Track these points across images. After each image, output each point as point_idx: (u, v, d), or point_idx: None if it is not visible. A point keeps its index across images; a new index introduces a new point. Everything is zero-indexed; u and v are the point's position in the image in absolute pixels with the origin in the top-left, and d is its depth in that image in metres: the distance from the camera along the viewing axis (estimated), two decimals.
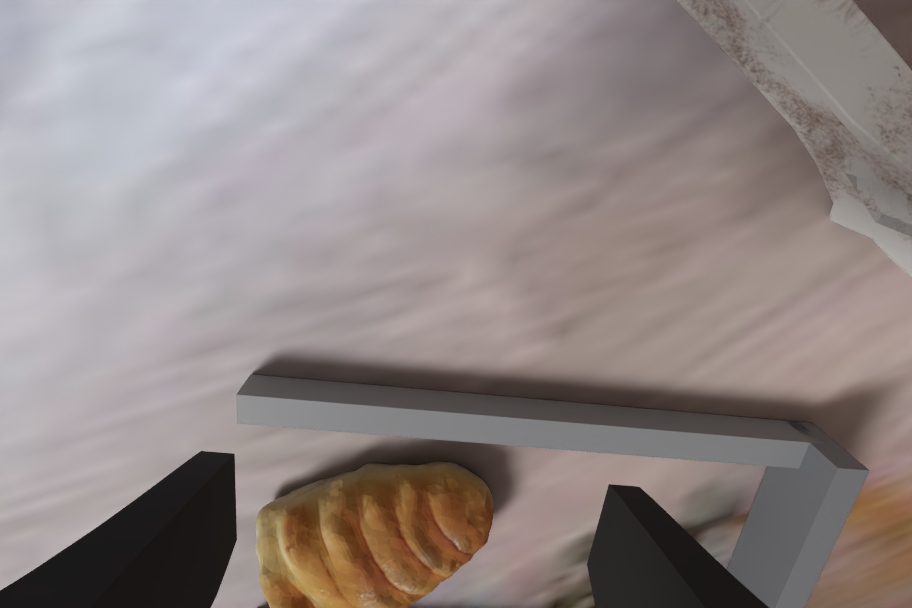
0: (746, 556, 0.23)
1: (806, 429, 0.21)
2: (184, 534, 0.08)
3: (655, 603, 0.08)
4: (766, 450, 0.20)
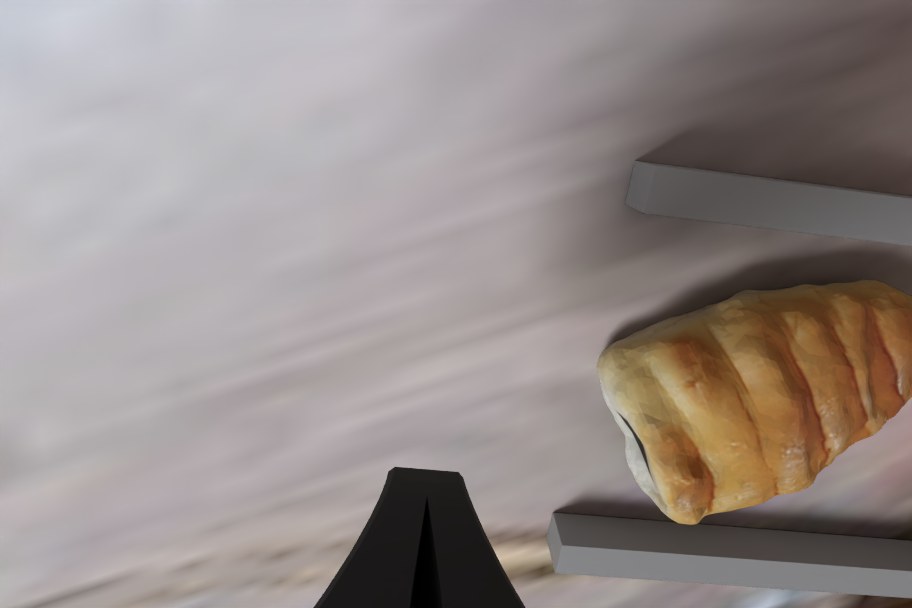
0: None
1: None
2: (418, 550, 0.08)
3: (428, 588, 0.08)
4: None
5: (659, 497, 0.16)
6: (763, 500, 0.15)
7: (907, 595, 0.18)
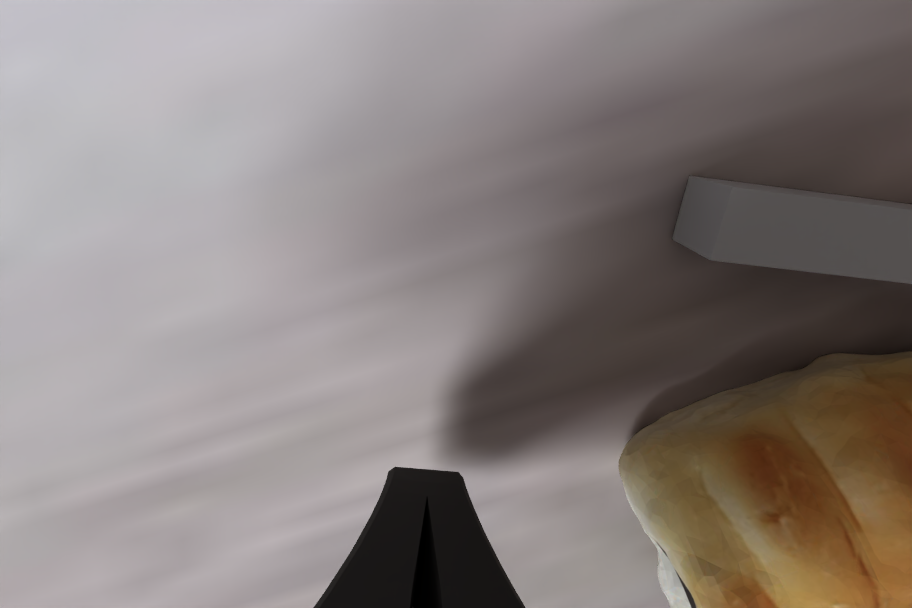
0: None
1: None
2: (418, 550, 0.08)
3: (428, 588, 0.08)
4: None
5: None
6: None
7: None
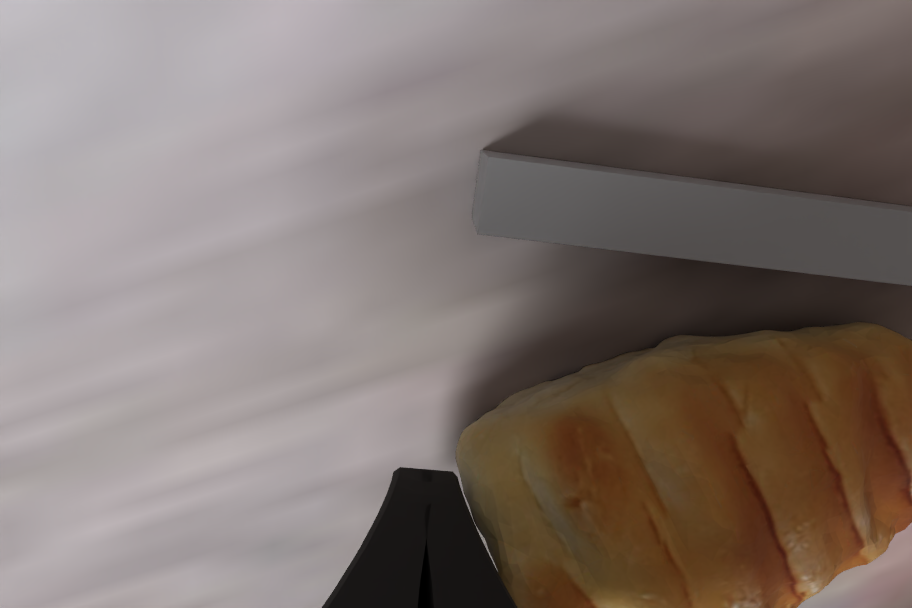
0: None
1: None
2: None
3: (420, 588, 0.08)
4: None
5: None
6: None
7: None
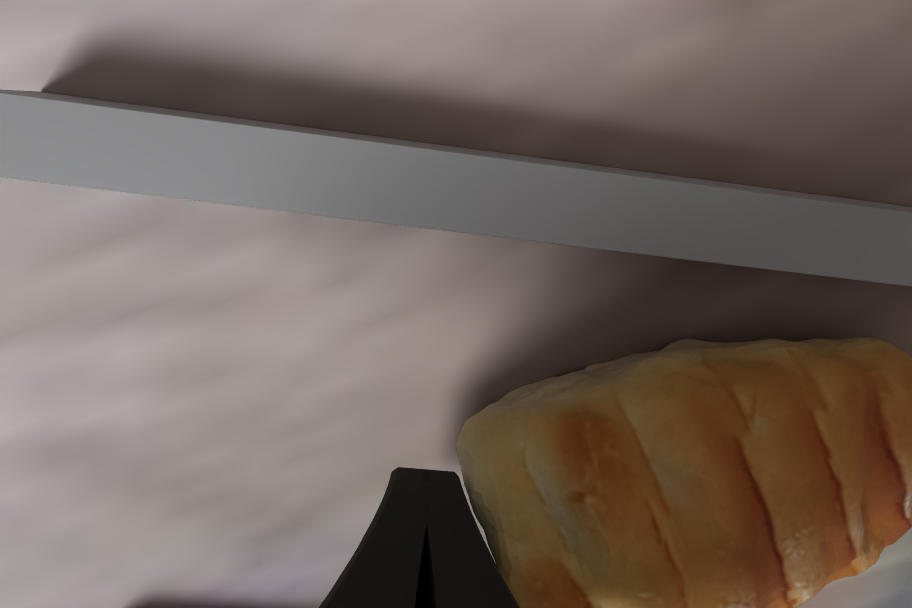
0: None
1: None
2: (422, 551, 0.08)
3: (423, 588, 0.08)
4: None
5: None
6: None
7: None
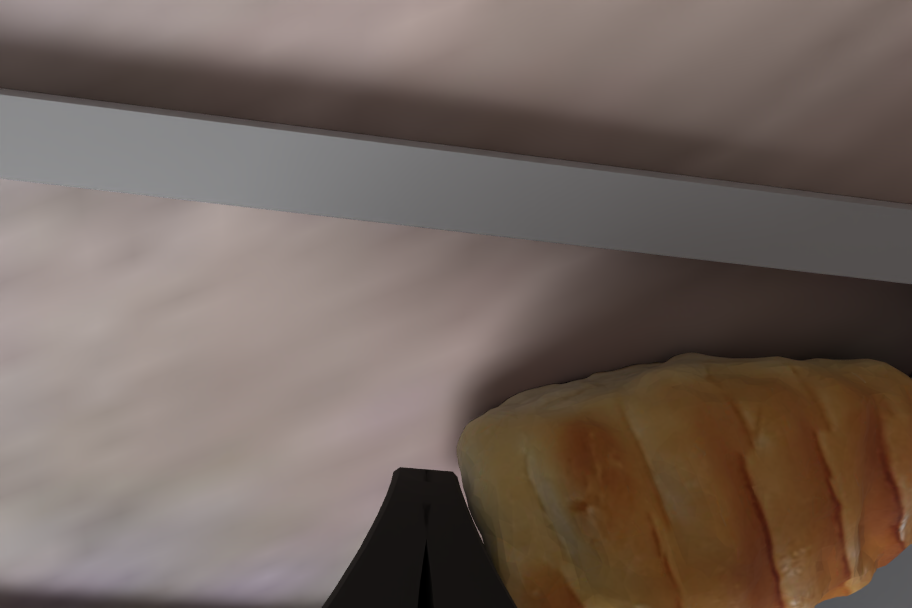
0: None
1: None
2: None
3: (420, 588, 0.08)
4: None
5: None
6: None
7: None
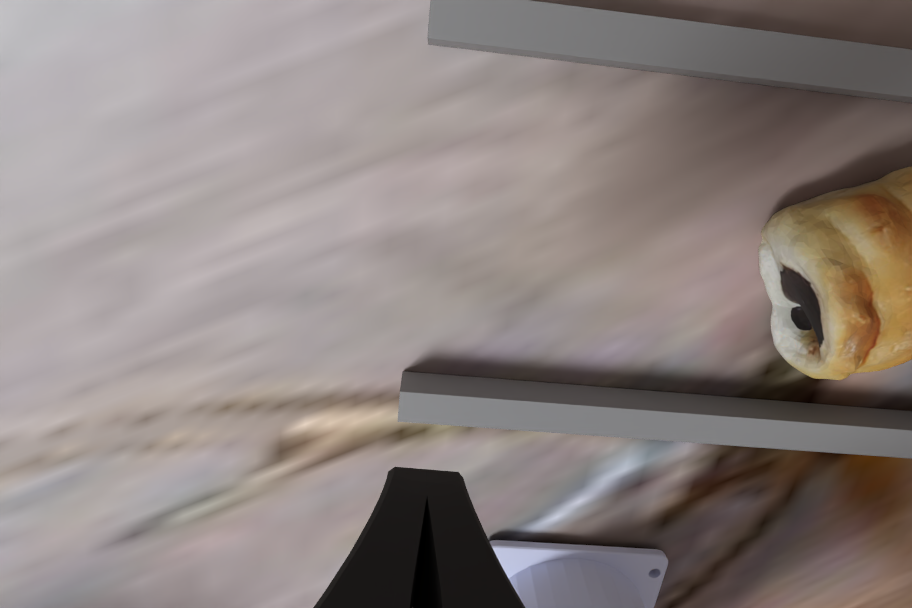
0: None
1: None
2: (418, 550, 0.08)
3: (428, 588, 0.08)
4: None
5: (808, 356, 0.18)
6: (911, 356, 0.17)
7: (742, 443, 0.19)
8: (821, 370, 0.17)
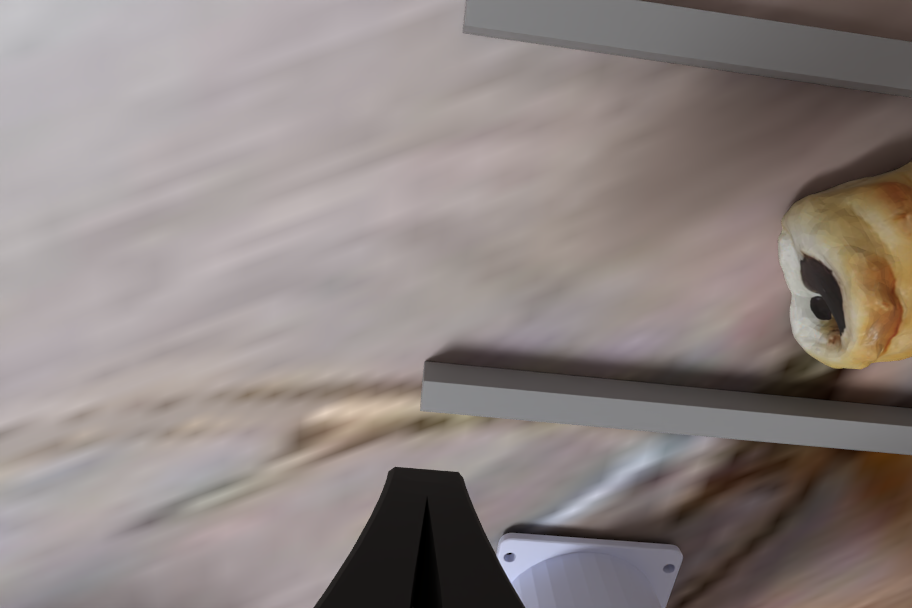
0: None
1: None
2: (418, 551, 0.08)
3: (428, 588, 0.08)
4: None
5: (828, 345, 0.18)
6: None
7: (762, 438, 0.19)
8: (842, 359, 0.17)
